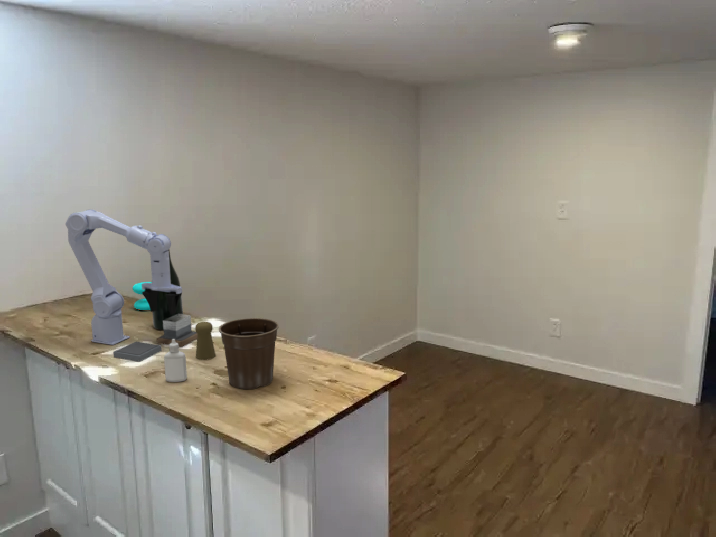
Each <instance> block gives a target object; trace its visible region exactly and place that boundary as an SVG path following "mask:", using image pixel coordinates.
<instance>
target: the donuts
mask: <svg viewBox="0 0 716 537" xmlns="http://www.w3.org/2000/svg"><path fill="white" fill-rule="evenodd" d="M143 283H152V281H143V282H142V281H141V282H137V283H135V284H134V285H133V286H132V292H134V294H137V295H141V296H144V295H143V294H142V292H144V291H145V290H142V284H143ZM133 308H134V309H135V308H136V309H140V310H150V307H149V304H148V302H147V300H146V298H145V297H144V298H140V299H138V300H136V301H135V302H134V303H133ZM136 309H135V310H136ZM150 311H151V310H150Z"/></svg>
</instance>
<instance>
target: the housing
mask: <svg viewBox="0 0 716 537" xmlns="http://www.w3.org/2000/svg"><path fill="white" fill-rule="evenodd" d="M163 328H164V330H163V335H164V338H169V339H176V340H177V339H179V338H181V337H183V336H185V335H187V334H189V333H191V332H192V331H193V330H192V329H193V328H192V316H191V315H190V314H185V313H183V314H177V315H174V316H172V317H170V318H167V319H165V320H163Z"/></svg>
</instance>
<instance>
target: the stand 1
mask: <svg viewBox="0 0 716 537" xmlns="http://www.w3.org/2000/svg"><path fill="white" fill-rule="evenodd" d="M162 349H163V348H162V344H161V345H160V344H157V343H156V344H154V343H147V342H143V341H134V342H132V343H130V344H128V345H125V346H123V347H121V348H118V349H117V350H114V351H113V358H114V359H115V358H116V359H120V360H121V359H122V360H127V361H134V362H138V363H139V362H140V363H141V362H142V361H144V360H146V359H148V358H150V357H151V356H153V355H156V354H158V353H160V352H162Z"/></svg>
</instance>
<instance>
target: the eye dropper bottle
mask: <svg viewBox="0 0 716 537" xmlns="http://www.w3.org/2000/svg"><path fill="white" fill-rule="evenodd" d="M168 346H169V351H168V352H166V353H165V354H164V355H163V362H164V375H165V376H164V377H165V381H166V382H168V383H179V382H184V381H186V379H187V378H188V374H187V373H188V372H187V360H186V353H185V352H184V351H180V347H179V345H178V343H176V342H175V339H172V343H171V344H169V345H168Z"/></svg>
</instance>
